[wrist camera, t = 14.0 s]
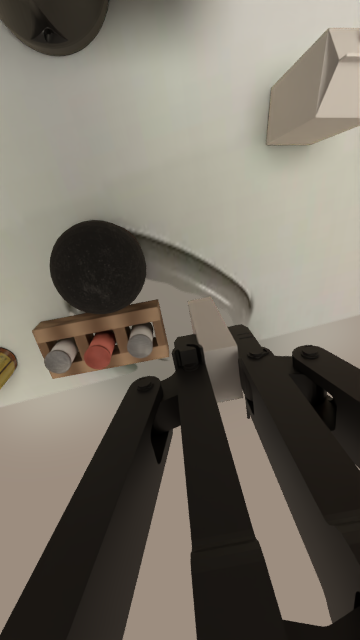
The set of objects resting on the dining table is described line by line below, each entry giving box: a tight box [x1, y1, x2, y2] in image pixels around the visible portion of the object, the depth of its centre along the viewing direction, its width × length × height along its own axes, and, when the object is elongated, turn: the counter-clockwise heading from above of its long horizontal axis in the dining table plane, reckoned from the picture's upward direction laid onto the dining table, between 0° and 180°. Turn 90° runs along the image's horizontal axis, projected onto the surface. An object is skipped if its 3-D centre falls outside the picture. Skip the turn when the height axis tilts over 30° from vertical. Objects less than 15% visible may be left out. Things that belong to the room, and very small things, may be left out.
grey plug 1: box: [44, 337, 79, 374], centre depth 49 cm, size 4×4×7 cm
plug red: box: [84, 330, 116, 369], centre depth 48 cm, size 4×4×7 cm
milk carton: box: [266, 28, 360, 145], centre depth 33 cm, size 7×7×19 cm
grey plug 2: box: [127, 322, 153, 358], centre depth 49 cm, size 4×4×7 cm
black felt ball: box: [50, 220, 146, 314], centre depth 41 cm, size 13×13×15 cm
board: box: [32, 300, 169, 379], centre depth 51 cm, size 22×10×4 cm, turn 100°
